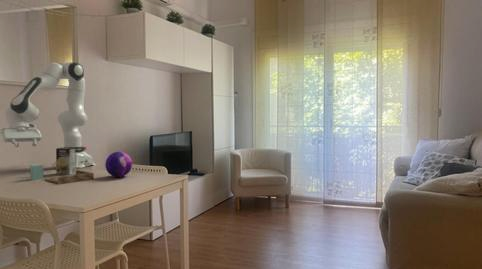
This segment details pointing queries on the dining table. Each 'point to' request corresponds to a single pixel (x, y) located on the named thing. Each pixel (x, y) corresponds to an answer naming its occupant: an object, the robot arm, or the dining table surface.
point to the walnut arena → (72, 177)
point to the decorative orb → (118, 164)
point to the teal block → (36, 172)
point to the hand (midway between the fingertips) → (26, 145)
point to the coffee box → (65, 161)
